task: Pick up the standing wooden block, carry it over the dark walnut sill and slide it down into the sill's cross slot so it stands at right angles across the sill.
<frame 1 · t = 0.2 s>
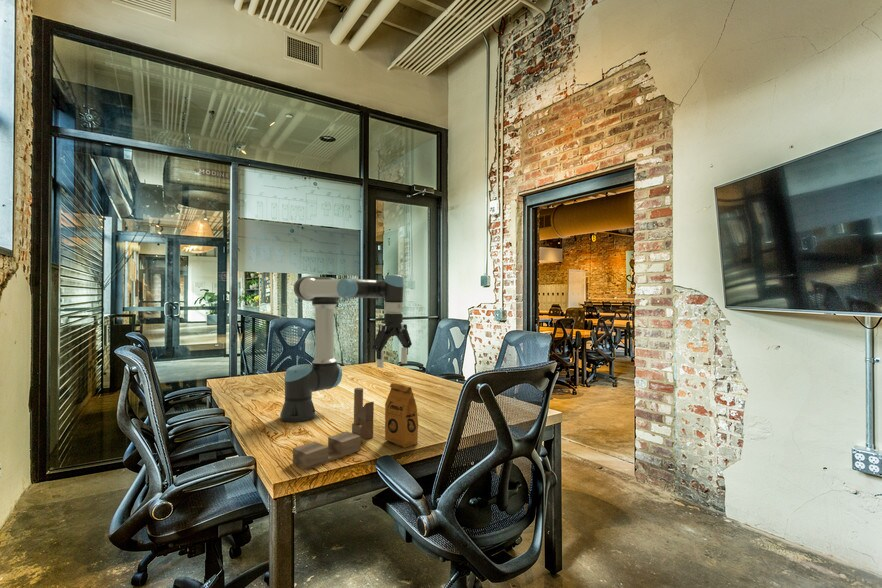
hand: (392, 365, 162), 28 cm above the table, tool pointing down, fingers open, 13 cm apart
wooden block: (362, 435, 161), on the table
coffee package: (401, 443, 153), on the table
slotted sill: (328, 456, 139), on the table
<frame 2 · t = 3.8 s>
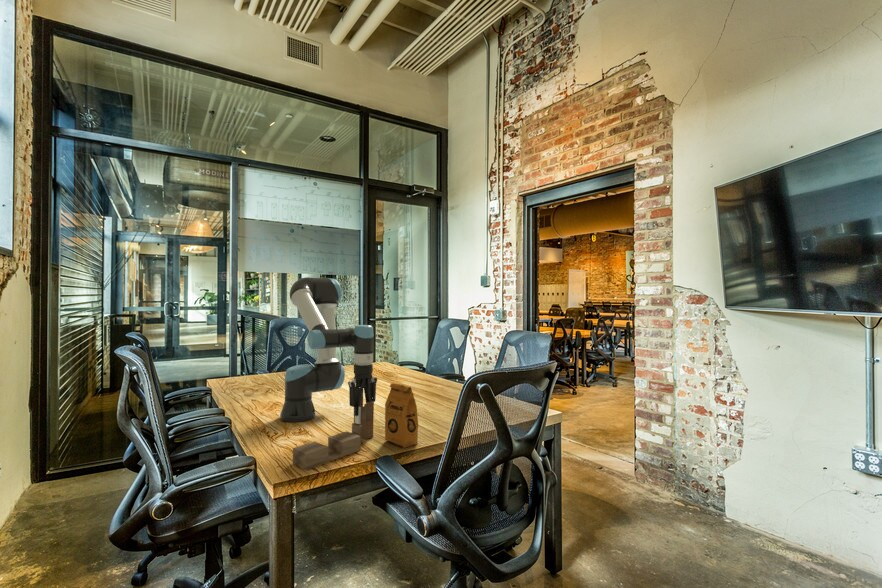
hand: (362, 421, 161), 5 cm above the table, tool pointing down, fingers closed on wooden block, 4 cm apart
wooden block: (362, 435, 161), on the table, touching gripper
everything else where it was.
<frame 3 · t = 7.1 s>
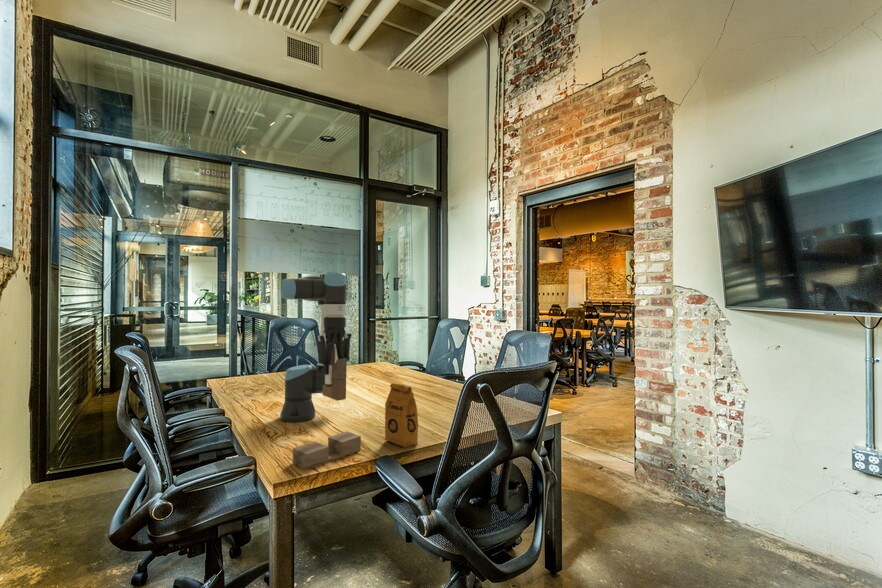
hand: (333, 382, 141), 25 cm above the table, tool pointing down, fingers closed on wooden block, 4 cm apart
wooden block: (334, 397, 141), point 20 cm above the table, touching gripper
everything else where it was.
when the fingers open (7 cm above the table, at t = 10.8 s): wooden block stays where it is, resting on slotted sill.
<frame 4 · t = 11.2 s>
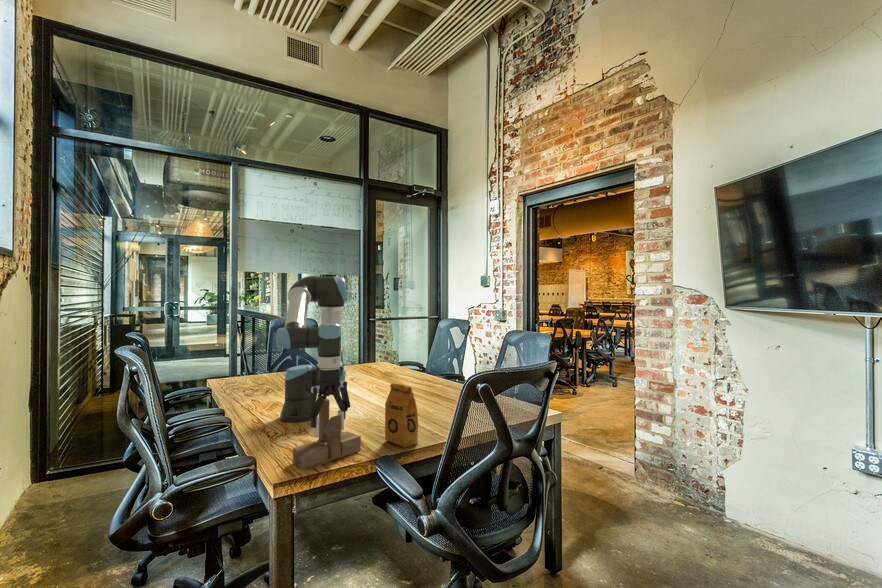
hand: (328, 432, 139), 8 cm above the table, tool pointing down, fingers open, 9 cm apart
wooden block: (328, 453, 139), point 1 cm above the table, touching slotted sill
everything else where it was.
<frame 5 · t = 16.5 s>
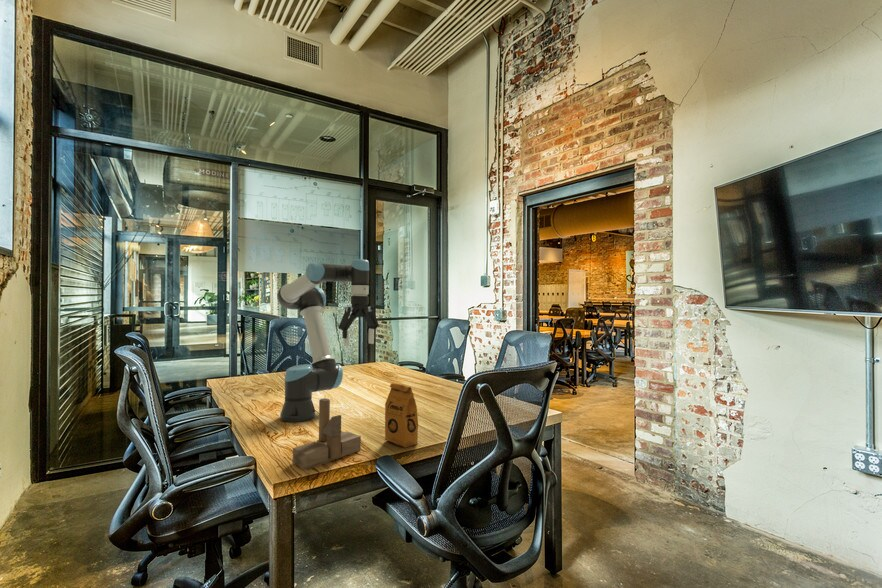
hand: (359, 344, 172), 35 cm above the table, tool pointing down, fingers open, 13 cm apart
nothing on the table moved.
at the end: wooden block 0.1 cm off-centre on the slotted sill, point 0.8 cm above the slotted sill's base; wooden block tilted 0°; the gripper is holding nothing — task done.
